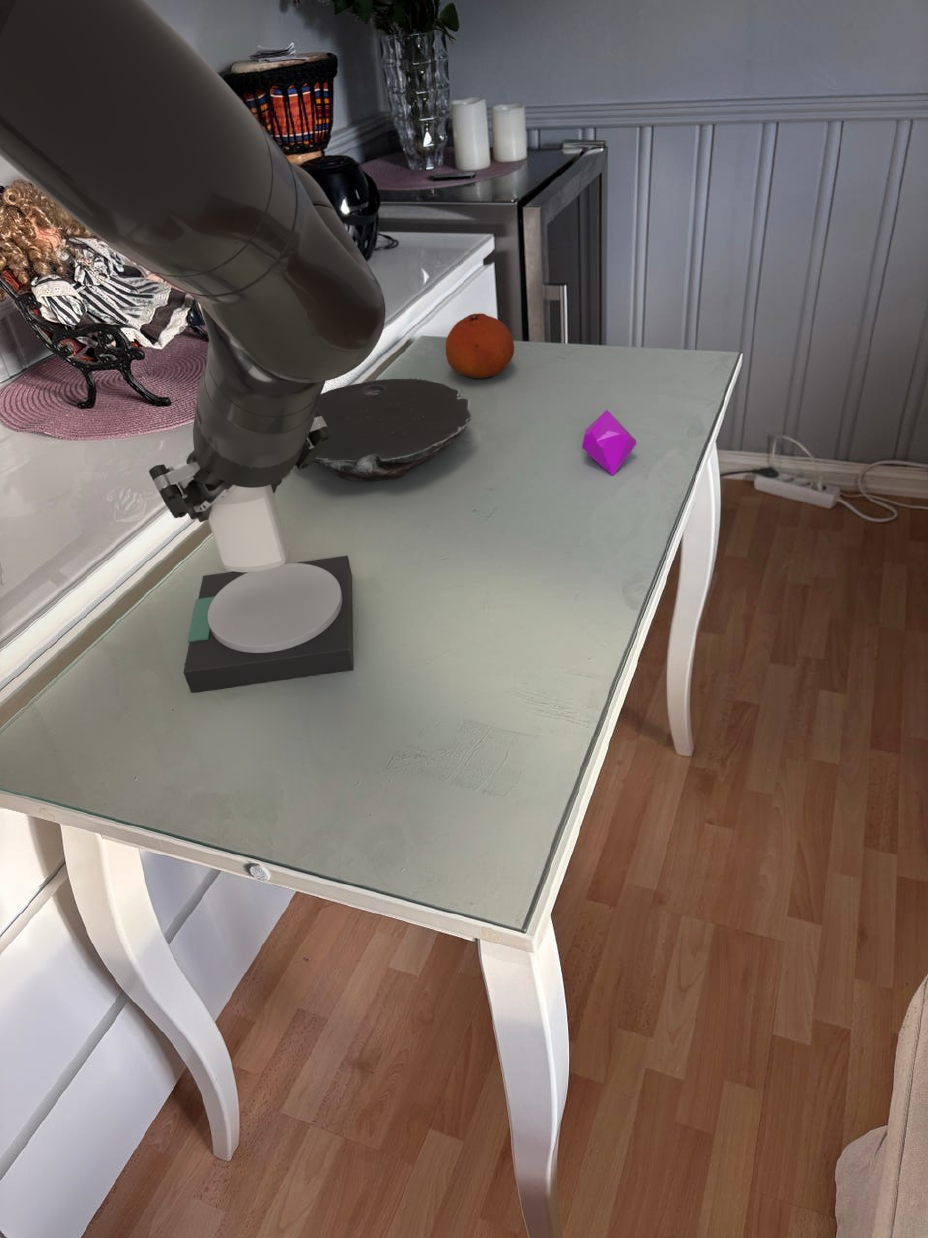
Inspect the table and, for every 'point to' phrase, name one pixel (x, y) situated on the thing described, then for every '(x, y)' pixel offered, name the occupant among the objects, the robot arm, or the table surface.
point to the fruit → (479, 346)
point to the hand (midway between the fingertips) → (232, 497)
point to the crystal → (608, 442)
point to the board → (388, 426)
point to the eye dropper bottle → (249, 530)
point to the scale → (271, 625)
